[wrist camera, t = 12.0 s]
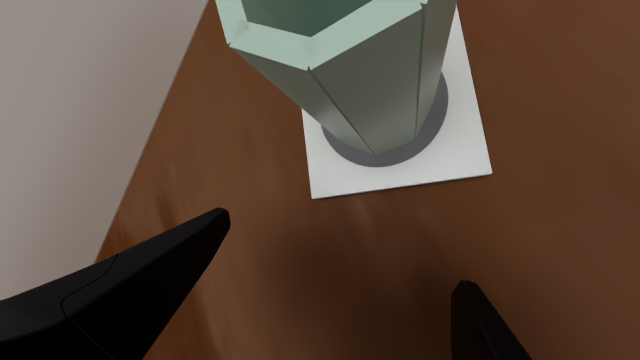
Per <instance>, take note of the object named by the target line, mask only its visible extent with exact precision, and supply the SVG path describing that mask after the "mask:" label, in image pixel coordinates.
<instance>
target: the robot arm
mask: <svg viewBox="0 0 640 360" xmlns="http://www.w3.org/2000/svg"><path fill="white" fill-rule="evenodd" d="M230 226H231V222H230V217H229V212H228V210H226V209H223V208H215V209H213V210H211V211H209V212H206V213H204V214H202V215H200V216H198V217H196V218H193V219H191V220H189V221H187V222H185V223H183V224H180V225H178V226H176V227H174V228H172V229H169V230H167V231H165V232H163V233H161V234H159V235H156V236H154V237H152V238H150V239H148V240H146V241H143V242H141V243H139V244H137V245H135V246H132V247H130V248H128V249H126V250H124V251H122V252H120V253H117V254H115V255H113V256H111V257H108V258H106V259H104V260H102V261H99V262H97V263H95V264H93V265H91V266H88V267H86V268H83V269H81V270H78V271H76V272H74V273H71V274H69V275H66V276H64V277H61V278H59V279H56V280H53V281H51V282H49V283H46V284H43V285H41V286H38V287H36V288H33V289H31V290H28V291H26V292H23V293H20V294H18V295H15V296H13V297H10V298H7V299H4V300H0V360H142V359H143V358H144V356H145V355H146V353H147V352H148V350H149V349H150V348H151V346H152V345H153V343H154V342H155V341H156V339H157V338H158V336H159V335H160V333H161V332H162V331H163V329H164V328H165V326H166V325H167V324H168V322H169V321H170V319H171V318H172V316H173V315H174V314H175V312H176V311H177V309H178V308H179V306H180V305H181V304H182V302H183V301H184V299H185V298H186V297H187V295H188V294H189V292H190V291H191V289H192V288H193V287H194V285H195V284H196V282H197V281H198V280H199V278H200V277H201V275H202V274H203V272H204V271H205V270H206V268H207V267H208V265H209V264H210V262H211V261H212V259H213V257H214V256H215V254H216V252H217V250H218V249H219V247H220V245H221V243H222V242H223V240H224V238H225V236H226V234H227V233H228V231H229V229H230ZM451 349H452V359H453V360H532V359H531V357H530V356H529V355H528V353H527V352H526V351H525V349H524V348H523V346H522V345H521V344H520V342H519V341H518V340H517V338H516V337H515V335H514V334H513V333H512V331H511V330H510V329H509V327H508V326H507V324H506V323H505V322H504V320H503V319H502V317H501V316H500V315H499V313H498V312H497V311H496V309H495V308H494V306H493V305H492V304H491V302H490V301H489V300H488V298H487V297H486V295H485V294H484V293H483V291H482V290H481V289H480V287H479V286H478V285H477V284H476V283H475V282H472V281H468V280H465V279H463V280H461V281H460V282H459V284H458V285H457V286H456V288H455V289H454V290H453V292H452V295H451Z"/></svg>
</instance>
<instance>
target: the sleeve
mask: <svg viewBox="0 0 640 360" xmlns="http://www.w3.org/2000/svg"><path fill="white" fill-rule="evenodd" d="M216 4H217V8H218V11H219V15H220V19H221V22H222V26H223V30H224V33H225V37H226V41H227V44H228V45H229V47H231V48H232V49H233V50H234V51H235V52H236V53H238V54H239V55H240V56H241V57H242V58H243V59H245V60H246V61H247V62H248V63H249V64H251V65H252V66H253V67H254V68H255V69H256V70H258V71H259V72H260V73H261V74H262V75H263V76H265V77H266V78H267V79H268V80H269V81H271V82H272V83H273V84H274V85H275V86H276V87H278V88H279V89H280V90H281V91H282V92H283V93H285V94H286V95H287V96H288V97H289V98H290V99H292V100H293V101H294V102H295V103H296V104H298V105H299V106H300V107H301V108H302V109H303V110H305V111H306V112H307V113H308V114H309V115H310V116H312V117H313V118H314V119H315V120H316V121H318V122H319V123H320V124H321V125H322V126H323V127H325V128H326V129H327V130H328V131H329V132H330V133H332V134H333V135H334V136H335V137H336V138H337V139H339V140H340V141H341V142H343V143H345V144H348V145H350V146H353V147H355V148H357V149H360V150H362V151H365V152H367V153H369V154H372V155H374V156H375V155H376V156H377V155H379V154H382V153H384V152H387V151H389V150H392V149H394V148H397V147H399V146H402V145H404V144H407V143H410V142H412V141H415V139H416V138H417V136H418V134H419V132H420V130H421V128H422V126H423V124H424V121H425V119H426V117H427V115H428V113H429V111H430V109H431V107H432V105H433V103H434V100H435V95H436V91H437V87H438V82H439V78H440V74H441V69H442V65H443V61H444V56H445V52H446V48H447V43H448V39H449V35H450V31H451V26H452V22H453V18H454V13H455V9H456V5H457V0H216Z"/></svg>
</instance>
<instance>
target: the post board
mask: <svg viewBox="0 0 640 360" xmlns="http://www.w3.org/2000/svg"><path fill="white" fill-rule="evenodd" d="M302 115H303V124H304V133H305V142H306V151H307V159H308V168H309V177H310V186H311V195H312V199H320V198H327V197H335V196H342V195H349V194H356V193H364V192H371V191H378V190H385V189H392V188H400V187H407V186H414V185H421V184H428V183H436V182H443V181H450V180H457V179H464V178H472V177H479V176H486V175H489V174H492V170H491V165H490V160H489V156H488V151H487V146H486V141H485V137H484V132H483V127H482V123H481V118H480V113H479V109H478V104H477V99H476V95H475V90H474V85H473V81H472V76H471V71H470V67H469V62H468V57H467V52H466V48H465V43H464V38H463V34H462V29H461V24H460V20H459V15H458V10H457V6H456V9H455V13H454V18H453V22H452V26H451V31H450V35H449V39H448V43H447V48H446V52H445V56H444V61H443V65H442V69H441V74H440V78H439V82H438V87H437V91H436V95H435V100H434V103H433V105H432V107H431V109H430V111H429V113H428V115H427V117H426V119H425V121H424V124H423V126H422V128H421V130H420V132H419V134H418V136H417V138H416V139H415V141H412V142H410V143H407V144H404V145H402V146H399V147H397V148H394V149H392V150H389V151H387V152H384V153H382V154H379V155H377V156H376V155H375V156H374V155H372V154H369V153H367V152H365V151H362V150H360V149H357V148H355V147H353V146H350V145H348V144H345V143H343V142H341V141H340V140H339V139H337V138H336V137H335V136H334V135H333V134H332V133H330V132H329V131H328V130H327V129H326V128H325V127H323V126H322V125H321V124H320V123H319V122H318V121H316V120H315V119H314V118H313V117H312V116H310V115H309V114H308V113H307V112H306V111H305V110H303V109H302Z"/></svg>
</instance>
